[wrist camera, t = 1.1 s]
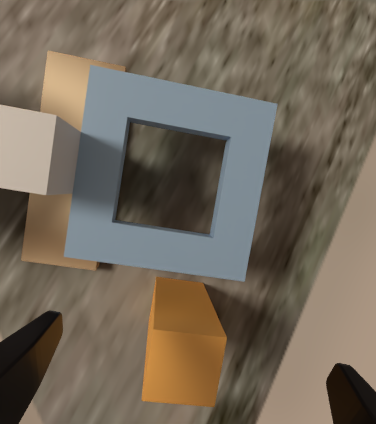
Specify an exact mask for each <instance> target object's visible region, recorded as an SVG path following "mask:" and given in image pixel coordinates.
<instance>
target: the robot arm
mask: <svg viewBox="0 0 376 424" xmlns="http://www.w3.org/2000/svg"><path fill="white" fill-rule="evenodd" d="M62 333H63V323H62V314H61V313H60V312H56V311H47V312H45V313H44V314H42V315H41V316H39V317H38V318H36V319H35V320H33V321H32V322H30V323H29V324H27V325H26V326H24V327H22V328H21V329H19V330H18V331H16V332H15V333H13V334H12V335H10V336H9V337H7V338H6V339H4V340H3V341H1V342H0V424H19V422H20V420H21V418H22V417H23V415H24V413H25V411H26V409H27V408H28V406H29V404H30V402H31V401H32V399H33V397H34V395H35V393H36V392H37V390H38V388H39V386H40V384H41V382H42V380H43V377H44V375H45V373H46V371H47V368H48V366H49V364H50V362H51V359H52V357H53V355H54V352H55V350H56V348H57V346H58V343H59V341H60V339H61V336H62ZM326 386H327V392H328V397H329V403H330V408H331V413H332V418H333V424H376V392H375V391H374V389H372V387H371V386H370V385H369V384H368V383H367V382H366V381H365V380H364V379H363V378H362V377H361V376H360V375H359V374H358V373H357V372H356V370H354V368H352V367H351V366H350V365H346V364H341V363H337V364H335V366H334V367H333V369H332V371H331V372H330V374H329V376H328V378H327V381H326Z"/></svg>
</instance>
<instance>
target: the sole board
mask: <svg viewBox="0 0 376 424" xmlns="http://www.w3.org/2000/svg"><path fill="white" fill-rule="evenodd" d="M90 65H94V66H99V67H104V68H108V69H113V70H118V71H123V72H127V70H126V67H124V66H119V65H114V64H109V63H105V62H100V61H95V60H91V59H86V58H81V57H76V56H72V55H67V54H62V53H57V52H53V51H48V54H47V62H46V70H45V77H44V85H43V93H42V101H41V109H40V112H42V113H48V114H53V115H57V116H58V117H60V118H61V119H63V120H64V121H66V122H67V123H69V124H70V125H71V126H73V127H74V128H76V129H77V130H79V131H80V132H81V128H82V121H83V114H84V107H85V99H86V92H87V85H88V78H89V71H90ZM71 200H72V194H57V195H41V194H35V193H30V195H29V202H28V210H27V218H26V226H25V234H24V241H23V249H22V257H21V261H28V262H36V263H43V264H51V265H59V266H66V267H74V268H81V269H89V270H96V269H97V268H98V267H99V262H98V261H91V260H83V259H76V258H69V257H64V251H65V244H66V236H67V229H68V222H69V215H70V208H71Z"/></svg>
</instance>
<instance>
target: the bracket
mask: <svg viewBox="0 0 376 424" xmlns="http://www.w3.org/2000/svg"><path fill="white" fill-rule="evenodd" d="M276 109H277V104H275V103H271V102H266V101H261V100H256V99H252V98H247V97H242V96H237V95H233V94H228V93H223V92H218V91H213V90H209V89H204V88H199V87H194V86H190V85H185V84H180V83H175V82H170V81H166V80H161V79H156V78H151V77H147V76H142V75H137V74H132V73H127V72H123V71H118V70H113V69H108V68H104V67H99V66H94V65H90V71H89V78H88V85H87V92H86V99H85V107H84V114H83V121H82V128H81V132H80V131H79V130H77V129H76V128H74V127H73V126H71V125H70V124H69V123H67V122H66V121H64V120H63V119H61V118H60V117H58V116H57V115H53V114H48V113H42V112H37V111H32V110H26V109H21V108H16V107H10V106H5V105H0V188H3V189H10V190H16V191H22V192H29V193H35V194H41V195H57V194H72V200H71V208H70V215H69V222H68V229H67V236H66V244H65V251H64V257H69V258H76V259H83V260H91V261H98V262H105V263H112V264H120V265H127V266H134V267H142V268H149V269H156V270H164V271H171V272H178V273H186V274H193V275H200V276H208V277H215V278H222V279H230V280H237V281H244V282H245V276H246V271H247V266H248V260H249V255H250V249H251V244H252V239H253V233H254V228H255V223H256V217H257V212H258V206H259V201H260V196H261V190H262V185H263V179H264V174H265V169H266V163H267V158H268V152H269V147H270V142H271V136H272V131H273V125H274V120H275V115H276ZM130 122H131V123H137V124H142V125H147V126H152V127H158V128H163V129H168V130H173V131H179V132H184V133H189V134H194V135H200V136H205V137H210V138H215V139H221V140H226V145H225V151H224V157H223V162H222V168H221V174H220V179H219V185H218V191H217V197H216V202H215V208H214V214H213V220H212V225H211V231H210V234H204V233H197V232H190V231H184V230H177V229H171V228H164V227H158V226H151V225H145V224H138V223H132V222H125V221H119V220H115V218H116V212H117V205H118V198H119V192H120V185H121V179H122V172H123V165H124V159H125V152H126V145H127V139H128V132H129V125H130Z"/></svg>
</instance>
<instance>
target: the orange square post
mask: <svg viewBox="0 0 376 424" xmlns="http://www.w3.org/2000/svg"><path fill="white" fill-rule="evenodd" d="M226 340H227V337H226V334H225V332H224V330H223V328H222V325H221V323H220V321H219V318H218V316H217V314H216V312H215V309H214V307H213V305H212V303H211V300H210V298H209V296H208V293H207V291H206V289H205V287H204V284H203V283H200V282H192V281H185V280H177V279H170V278H162V277H156V282H155V288H154V294H153V300H152V306H151V312H150V319H149V326H148V337H147V348H146V359H145V370H144V380H143V391H142V401H149V402H161V403H172V404H184V405H196V406H207V407H214V406H215V400H216V395H217V390H218V384H219V379H220V373H221V368H222V362H223V357H224V351H225V346H226Z"/></svg>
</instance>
